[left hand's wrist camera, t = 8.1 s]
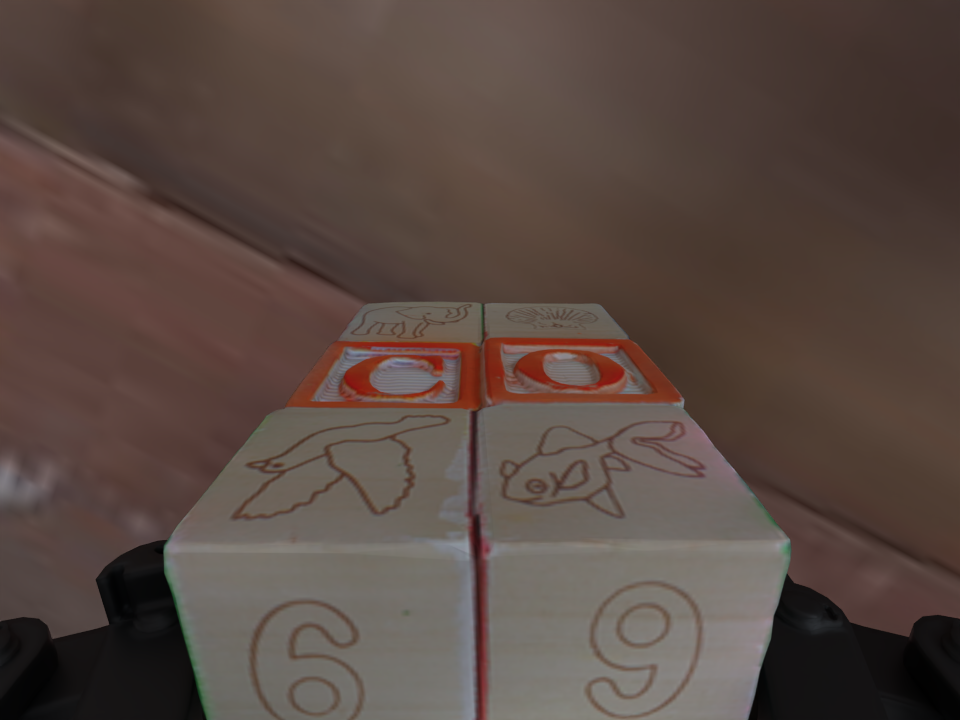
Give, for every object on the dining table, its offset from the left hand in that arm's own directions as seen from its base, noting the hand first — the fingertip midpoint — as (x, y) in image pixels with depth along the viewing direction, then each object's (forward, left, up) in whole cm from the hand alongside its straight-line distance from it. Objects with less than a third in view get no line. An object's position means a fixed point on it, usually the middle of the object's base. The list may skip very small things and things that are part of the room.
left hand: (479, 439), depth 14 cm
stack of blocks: (+5, +5, -1) cm, 7 cm away
